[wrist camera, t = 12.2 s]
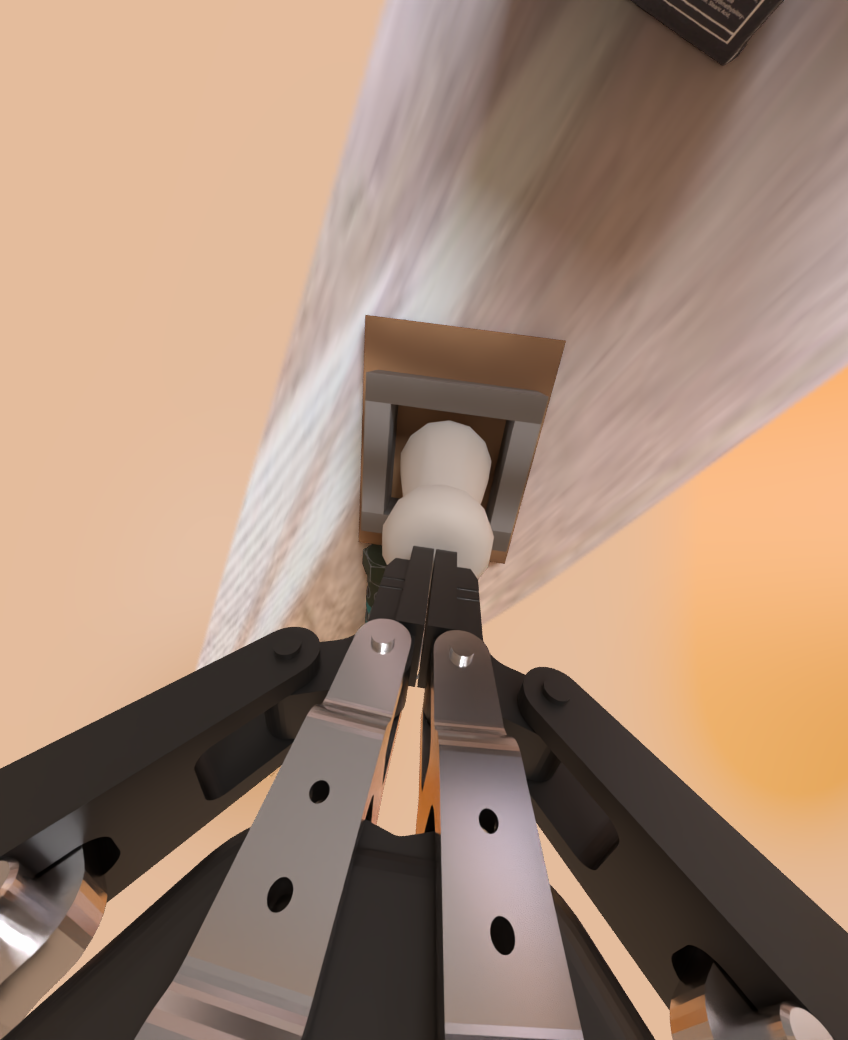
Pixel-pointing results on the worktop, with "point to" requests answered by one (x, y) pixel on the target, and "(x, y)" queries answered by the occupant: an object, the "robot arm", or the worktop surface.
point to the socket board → (452, 409)
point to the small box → (713, 22)
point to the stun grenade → (374, 576)
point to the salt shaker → (442, 497)
